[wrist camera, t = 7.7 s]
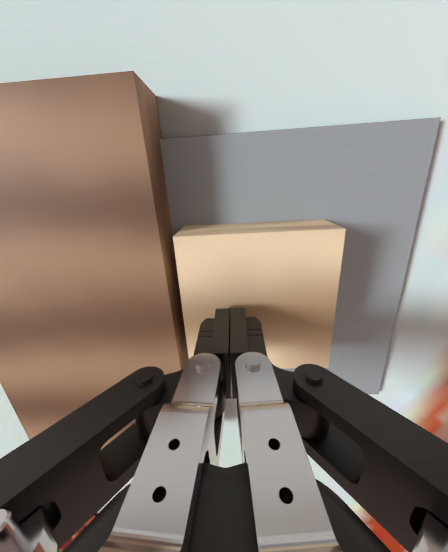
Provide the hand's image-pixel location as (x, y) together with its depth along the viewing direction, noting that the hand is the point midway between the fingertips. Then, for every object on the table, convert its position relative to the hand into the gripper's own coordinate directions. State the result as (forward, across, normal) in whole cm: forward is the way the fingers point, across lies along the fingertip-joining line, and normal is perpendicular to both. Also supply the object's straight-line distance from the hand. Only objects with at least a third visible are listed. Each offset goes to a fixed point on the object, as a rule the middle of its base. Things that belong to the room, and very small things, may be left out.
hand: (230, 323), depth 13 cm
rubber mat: (+4, -3, 0) cm, 5 cm away
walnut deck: (+4, +9, 0) cm, 10 cm away
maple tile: (+4, -2, -1) cm, 4 cm away
